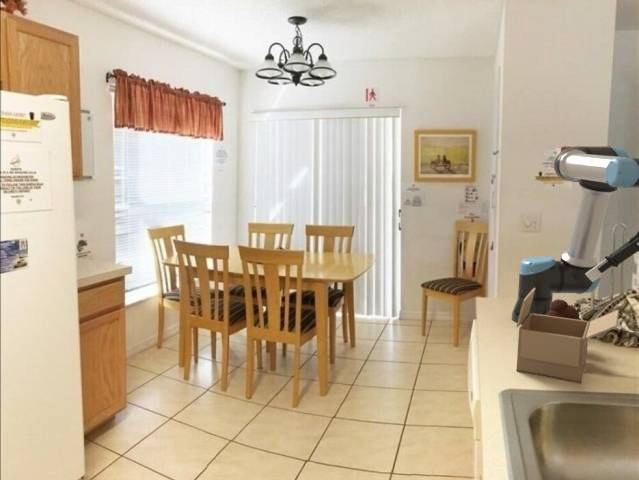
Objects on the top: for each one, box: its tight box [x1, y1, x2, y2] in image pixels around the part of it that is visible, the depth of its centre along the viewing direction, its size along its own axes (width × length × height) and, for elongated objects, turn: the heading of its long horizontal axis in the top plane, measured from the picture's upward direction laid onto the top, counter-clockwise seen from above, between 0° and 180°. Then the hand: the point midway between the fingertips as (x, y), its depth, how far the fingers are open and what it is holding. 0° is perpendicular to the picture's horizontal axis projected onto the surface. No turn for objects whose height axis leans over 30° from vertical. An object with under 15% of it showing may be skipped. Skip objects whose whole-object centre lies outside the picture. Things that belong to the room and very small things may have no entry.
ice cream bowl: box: [546, 298, 582, 320], centre depth 167 cm, size 11×11×15 cm
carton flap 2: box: [586, 309, 620, 340], centre depth 144 cm, size 18×8×1 cm
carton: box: [516, 314, 590, 384], centre depth 151 cm, size 19×16×12 cm
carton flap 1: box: [515, 288, 536, 328], centre depth 153 cm, size 18×8×1 cm
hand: (589, 277), depth 144 cm, fingers closed
